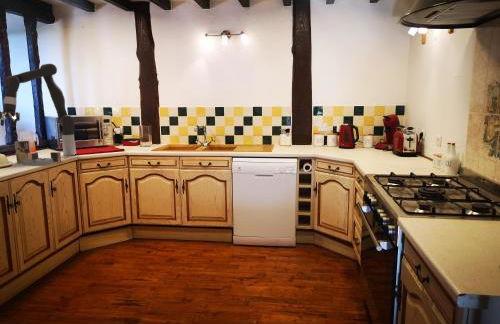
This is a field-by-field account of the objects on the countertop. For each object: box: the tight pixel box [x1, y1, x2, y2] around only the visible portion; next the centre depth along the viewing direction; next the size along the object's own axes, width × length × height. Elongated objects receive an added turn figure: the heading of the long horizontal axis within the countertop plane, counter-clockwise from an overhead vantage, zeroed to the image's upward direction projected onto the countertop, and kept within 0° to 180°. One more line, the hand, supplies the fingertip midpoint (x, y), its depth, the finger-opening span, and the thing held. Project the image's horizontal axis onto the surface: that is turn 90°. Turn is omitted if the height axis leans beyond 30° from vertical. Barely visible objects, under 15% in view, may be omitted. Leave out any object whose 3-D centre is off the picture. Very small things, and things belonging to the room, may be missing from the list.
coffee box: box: [14, 140, 32, 164], centre depth 275 cm, size 9×6×16 cm
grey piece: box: [22, 151, 56, 166], centre depth 271 cm, size 11×17×8 cm, turn 79°
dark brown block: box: [50, 151, 62, 163], centre depth 282 cm, size 4×6×7 cm, turn 79°
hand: (8, 126), depth 267 cm, fingers open, 8 cm apart
